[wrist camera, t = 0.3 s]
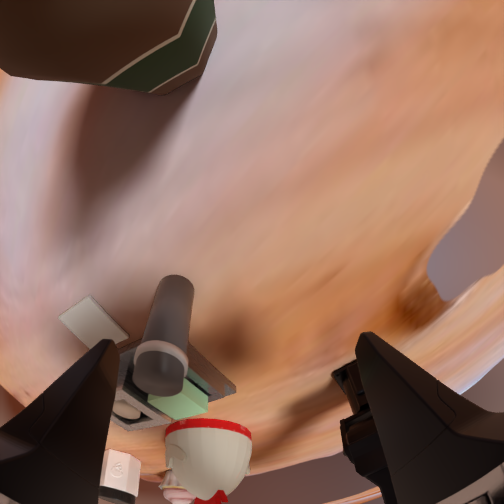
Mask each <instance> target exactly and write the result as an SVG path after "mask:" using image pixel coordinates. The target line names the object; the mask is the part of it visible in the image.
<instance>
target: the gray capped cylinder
mask: <svg viewBox="0 0 504 504" xmlns="http://www.w3.org/2000/svg"><path fill="white" fill-rule="evenodd" d="M193 298H194V287H193V285H192V283H191V282H190V281H189V280H188V279H186V278H185V277H183V276H180V275H169V276H166V277H164V278H163V279H162V280H161V281H160V283H159V286H158V289H157V292H156V295H155V299H154V302H153V305H152V308H151V311H150V315H149V318H148V321H147V325H146V328H145V331H144V335H143V338H142V342H141V344H140V345H139V346H138V347H137V349H136V352H135V356H134V365H135V368H134V372H133V376H132V378H133V382H134V383H135V385H136V386H137V387H138V388H140V389H141V390H142V391H144V392H146V393H148V394H151V395H155V396H160V397H170V396H174V395H177V394H179V393H180V392H181V391H182V389H183V380H184V377H185V376H186V375H187V371H188V358H187V356H186V352H187V344H188V335H189V327H190V320H191V312H192V305H193Z"/></svg>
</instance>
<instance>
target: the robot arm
mask: <svg viewBox="0 0 504 504" xmlns="http://www.w3.org/2000/svg"><path fill="white" fill-rule="evenodd" d="M355 354H356V358H357V361H355V362H353V363H351V364H349V365H347V366H345V367H343V368H341V369H339V370H337V371H335V372H334V373H333V375H334V378H335V379H336V381H337V382H338V384H339V385H340V387H341V389H342V390H343V392H344V393H345V394H346V395H347V398H348V401H349V404H350V406H351V409H352V412H353V415H352V416H350V417H348V418H346V419H342V420H340V425H341V426H340V430H341V436H342V443H343V454H344V455H345V456H347V457H348V458H349V460H350V461H351V462H352V463H353V464H354V465H355V468H356V472H357V473H359V474H360V475H361V476H363V477H366V478H367V479H368V480H370V481H371V482H373V483H374V484H375V485H377V486H378V487H379V488H380V490H381V493H382V497H383V500H384V503H385V504H504V412H503V413H495V412H489V411H487V410H484V409H483V408H481V407H479V406H477V405H476V404H474V403H472V402H471V401H469V400H467V399H466V398H464V397H462V396H461V395H459V394H457V393H456V392H454V391H453V390H451V389H450V388H448V387H447V386H446V385H444V384H443V383H441V382H440V381H439V380H437V379H436V378H435V377H433V376H432V375H431V374H429V373H428V372H426V371H425V370H424V369H422V368H421V367H420V366H418V365H417V364H416V363H414V362H413V361H411V360H410V359H409V358H407V357H406V356H405V355H403V354H402V353H401V352H399V351H398V350H396V349H395V348H394V347H392V346H391V345H390V344H388V343H387V342H385V341H384V340H383V339H381V338H380V337H379V336H377V335H376V334H375V333H373V332H371V331H369V332H362V333H361V334H360V336H359V339H358V342H357V345H356V348H355ZM119 364H120V355H119V352H118V349H117V347H116V344H115V342H114V340H113V339H105V338H104V339H102V340H100V341H99V342H98V343H97V344H96V345H95V346H93V347H92V348H91V349H90V350H89V351H88V352H87V353H86V354H84V355H83V356H82V357H81V358H80V359H79V360H78V361H77V362H75V363H74V364H73V365H72V366H71V367H70V368H69V369H68V370H67V371H66V372H64V373H63V374H62V375H61V376H60V377H59V378H58V379H57V380H56V381H55V382H53V383H52V384H51V385H50V386H49V387H48V388H47V389H46V390H45V391H44V392H43V393H42V394H40V395H39V396H38V397H37V398H36V399H35V400H34V401H33V402H32V403H31V404H29V405H28V406H27V407H26V408H25V409H23V410H22V411H21V412H20V413H18V414H17V415H16V416H15V417H13V418H12V419H11V420H9V421H8V422H7V423H6V424H4V425H3V426H2V427H0V504H98V498H99V488H100V479H101V472H102V465H103V458H104V452H105V446H106V440H107V435H108V429H109V424H110V419H111V414H112V410H113V405H114V401H115V396H116V388H117V379H118V371H119Z"/></svg>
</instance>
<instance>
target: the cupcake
mask: <svg viewBox="0 0 504 504" xmlns="http://www.w3.org/2000/svg"><path fill="white" fill-rule="evenodd" d="M159 487H161V489H163V490H164V491H163V495H164V497H165V498H166V499H167V500H169V501H171V502H172V504H189V503H191V502H192V500H193V499H195V498H196V496H194V495H192V494H191V493H190V492H188V491H187V490H186V489H185V488H184V487H183V486H182V485H181V484H180V482H179V481H178V480H177V478H176V476H175V475H174V473H173V471H172V470H168V471H167V472H166V474H165V477H164V479H163V481H162V483H161V484H160V485H159Z"/></svg>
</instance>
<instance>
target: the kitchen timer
mask: <svg viewBox="0 0 504 504" xmlns="http://www.w3.org/2000/svg"><path fill="white" fill-rule="evenodd" d="M165 446H166V452H165V460H166V467H167V468H171V469H172V471H173V473H174V475H175V476H176V478H177V480H178V481H179V482H180V484H181V485H182V486H183V487H184V488H185V489H186V490H187V491H188V492H190V493H191V494H192V495H194V496H196V499H195V502H194V504H221V501H222V502H228V500H227V497H226V496H227V495H228V494H229V493H231V492H232V491H233V490H234V489H235V488H236V487H237V486H238V485H239V483H240V482H241V481H242V479H243V477H244V476H245V474H249V473H250V465H249V461H250V457H251V452H252V440H251V432H250V431H249V430H248V429H247V428H245V427H243V426H242V425H240V424H237V423H233V422H230V421H225V420H218V419H204V418H199V419H187V420H182V421H177V422H175V423H173V424H171V425H169V427H168V428H167V429H166V437H165Z"/></svg>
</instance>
